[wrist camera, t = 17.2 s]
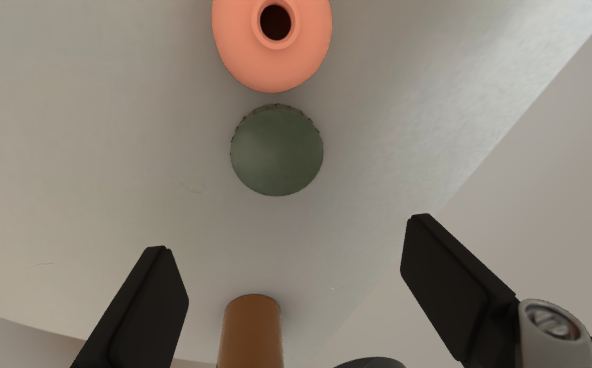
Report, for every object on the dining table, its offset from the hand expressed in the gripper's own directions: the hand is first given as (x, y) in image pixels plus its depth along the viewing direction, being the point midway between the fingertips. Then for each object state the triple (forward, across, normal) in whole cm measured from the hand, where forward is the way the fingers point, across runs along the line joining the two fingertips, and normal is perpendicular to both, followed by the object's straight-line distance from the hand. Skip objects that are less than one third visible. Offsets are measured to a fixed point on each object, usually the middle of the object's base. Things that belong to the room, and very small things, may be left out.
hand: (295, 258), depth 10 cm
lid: (+11, 0, -1) cm, 11 cm away
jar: (+13, +5, +19) cm, 23 cm away
